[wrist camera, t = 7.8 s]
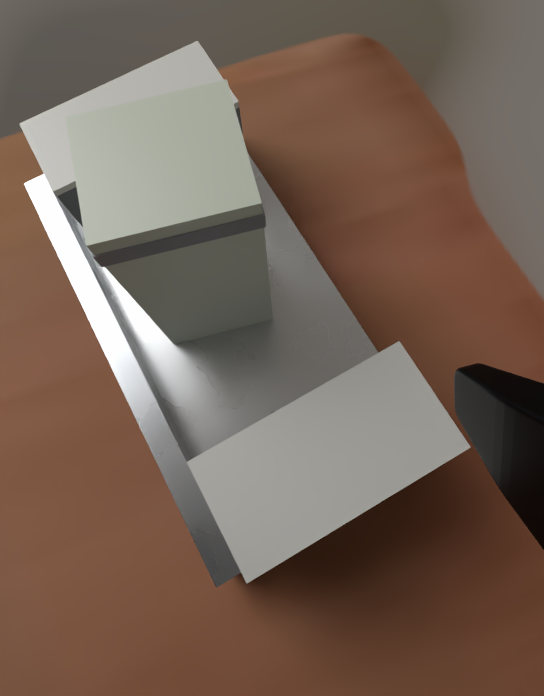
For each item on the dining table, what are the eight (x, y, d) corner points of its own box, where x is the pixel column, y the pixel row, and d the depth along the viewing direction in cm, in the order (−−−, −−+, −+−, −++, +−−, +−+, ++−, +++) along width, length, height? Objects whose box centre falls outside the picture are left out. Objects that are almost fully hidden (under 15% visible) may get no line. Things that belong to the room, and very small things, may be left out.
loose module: (274, 320, 20) (264, 204, 11) (173, 345, 20) (84, 248, 11) (252, 239, 21) (227, 77, 12) (156, 263, 21) (63, 115, 12)
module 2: (429, 452, 18) (471, 447, 14) (256, 557, 18) (246, 583, 13) (375, 369, 19) (399, 341, 15) (209, 464, 19) (186, 462, 14)
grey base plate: (428, 448, 20) (452, 444, 17) (227, 569, 19) (216, 587, 16) (226, 135, 25) (218, 90, 22) (56, 219, 24) (23, 183, 21)
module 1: (247, 170, 22) (238, 101, 18) (98, 246, 21) (52, 191, 17) (213, 118, 23) (197, 40, 19) (69, 188, 22) (19, 123, 18)
